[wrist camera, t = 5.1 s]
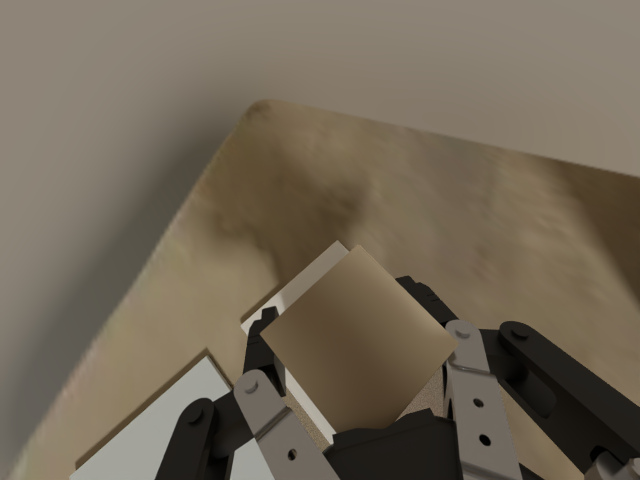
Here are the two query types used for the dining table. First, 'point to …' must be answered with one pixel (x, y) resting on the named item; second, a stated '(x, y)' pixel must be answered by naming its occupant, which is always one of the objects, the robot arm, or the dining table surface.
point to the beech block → (359, 344)
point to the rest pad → (168, 434)
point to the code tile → (288, 298)
